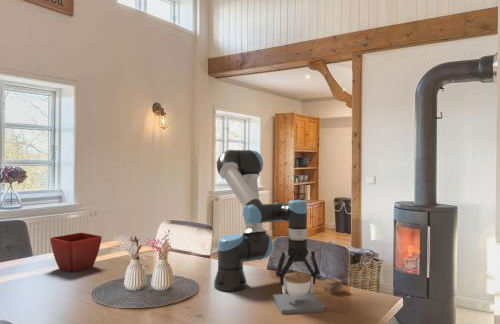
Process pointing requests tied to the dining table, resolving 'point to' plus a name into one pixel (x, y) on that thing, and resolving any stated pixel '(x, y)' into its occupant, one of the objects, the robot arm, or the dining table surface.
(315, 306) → the charcoal board
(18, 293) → the dining table surface
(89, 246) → the plant pot
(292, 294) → the lidded jar
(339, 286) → the walnut block
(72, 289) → the dining table surface
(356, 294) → the dining table surface
